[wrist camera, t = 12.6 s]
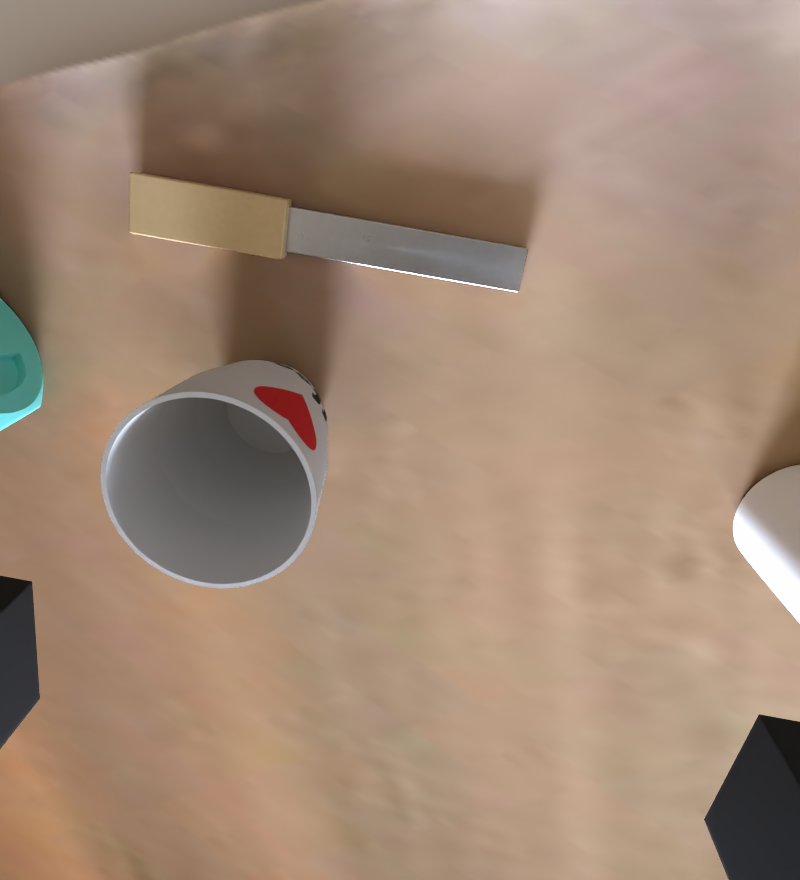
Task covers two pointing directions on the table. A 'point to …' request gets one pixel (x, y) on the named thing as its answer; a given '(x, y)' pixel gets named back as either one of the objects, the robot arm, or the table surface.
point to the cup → (220, 474)
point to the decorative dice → (17, 369)
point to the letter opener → (312, 233)
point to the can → (773, 533)
